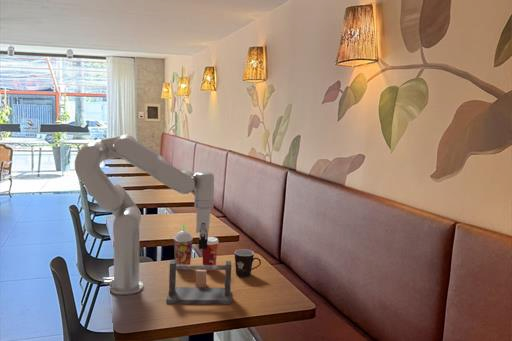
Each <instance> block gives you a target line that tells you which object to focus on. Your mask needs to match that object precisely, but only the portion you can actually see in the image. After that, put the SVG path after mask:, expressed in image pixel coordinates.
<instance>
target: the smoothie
mask: <svg viewBox="0 0 512 341" xmlns="http://www.w3.org/2000/svg"><path fill="white" fill-rule="evenodd" d="M193 239H194V238H193V236H192V234H191V233H190V231H188V230H185V224H184V223H183V224H182V230H179V231H178V232H176V234H175V235H174V236H173V245H174V247H173V248H174V260H176V265H191V259H192V252H193V251H192V247H193ZM179 270H182V269H179ZM182 271H183V270H182Z"/></svg>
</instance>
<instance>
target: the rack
mask: <svg viewBox="0 0 512 341" xmlns="http://www.w3.org/2000/svg"><path fill="white" fill-rule="evenodd" d="M180 269H182V271H184V270H185V271H186V270H189V271H190V270H192V271H196V270H213V271H224V272H225V273H224V274H225V276H224V278H225V279H224V287H207V286H206V287H196V286H194V287H193V286H186V287H185V286H184V287H183V286H176V281H177V280H176V277H177V273H176V272H177V270H180ZM168 275H169V278H168V279H169V280H168V281H169V283H168V284H169V286H168V292H167V296H166V304H183V305H184V304H187V305H188V304H191V305H192V304H195V305H196V304H197V305H199V304H200V305H202V304H205V305H211V304H213V305H232V288H231V285H232V284H231V280H232V261H231V260H226V261H225V265H223V264H221V265H219V264H218V265H217V264H216V265H203V264H190V265H176V260H175V259H170V262H169V274H168Z"/></svg>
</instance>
